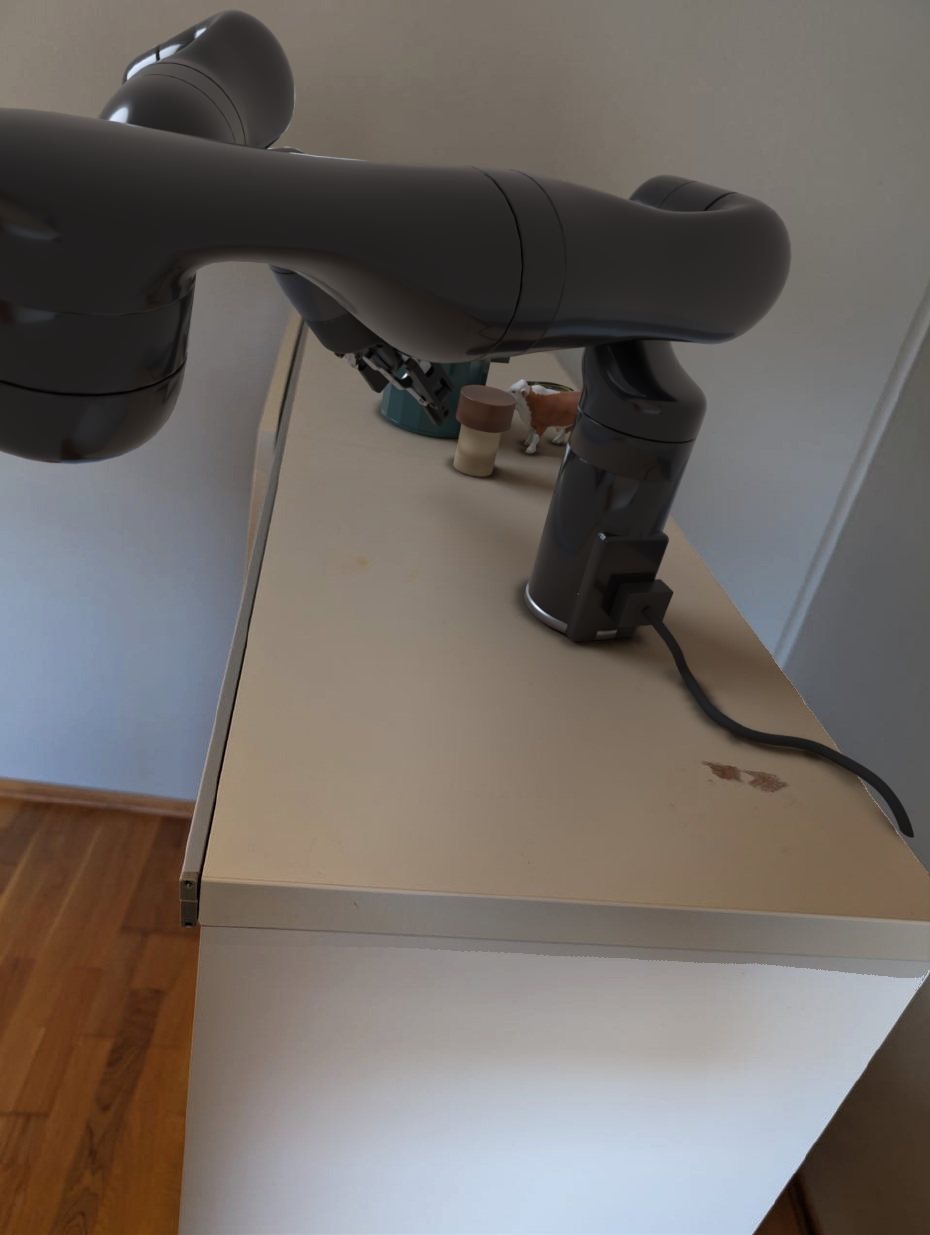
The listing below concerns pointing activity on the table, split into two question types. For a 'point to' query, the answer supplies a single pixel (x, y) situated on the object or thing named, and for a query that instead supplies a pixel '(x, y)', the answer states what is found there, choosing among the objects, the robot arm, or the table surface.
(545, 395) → the bull figurine
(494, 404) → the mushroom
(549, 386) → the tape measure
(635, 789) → the table surface
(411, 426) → the pot
